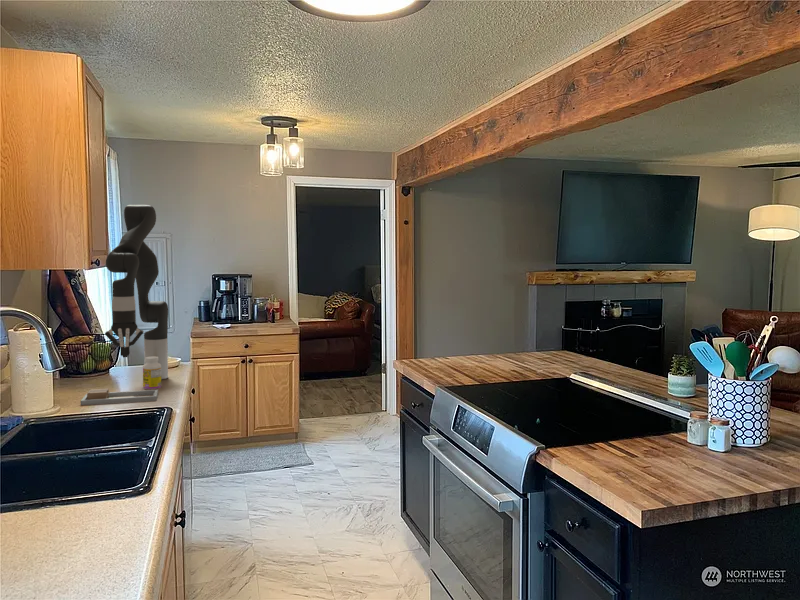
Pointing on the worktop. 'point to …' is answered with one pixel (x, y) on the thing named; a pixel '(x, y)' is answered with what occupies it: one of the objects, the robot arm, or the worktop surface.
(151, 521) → the worktop surface
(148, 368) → the supplement bottle
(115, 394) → the tray
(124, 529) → the worktop surface
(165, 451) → the worktop surface
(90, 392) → the block
